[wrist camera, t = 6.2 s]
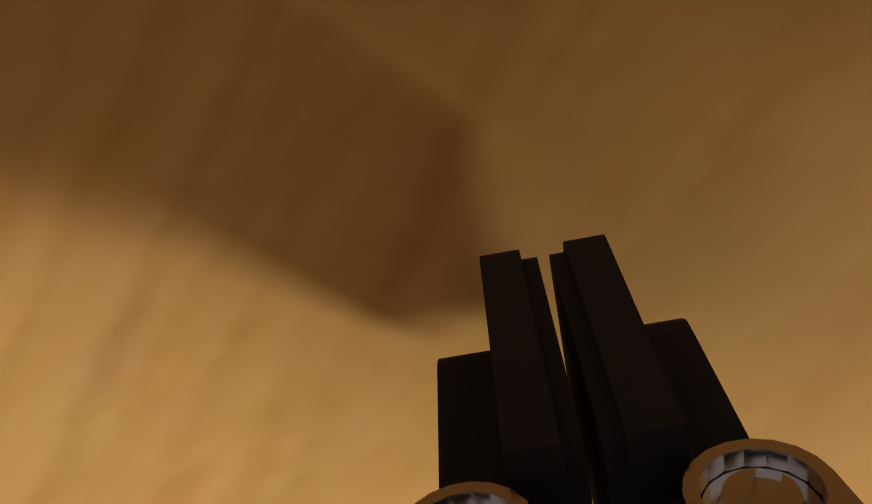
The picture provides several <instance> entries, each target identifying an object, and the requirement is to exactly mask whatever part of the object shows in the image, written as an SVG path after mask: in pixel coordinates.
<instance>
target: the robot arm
mask: <svg viewBox="0 0 872 504" xmlns="http://www.w3.org/2000/svg"><path fill="white" fill-rule="evenodd" d="M563 250H564V252H562V253H557V254H551V255H549V258H550V266H551V273H552V279H553V286H554V292H555V299H556V306H557V312H558V319H559V325H560V332H561V339H562V345H563V352H564V358H565V365H566V370H565V367H564V363H563V359H562V355H561V351H560V347H559V343H558V339H557V335H556V331H555V327H554V323H553V319H552V315H551V311H550V307H549V303H548V299H547V295H546V291H545V287H544V283H543V280H542V276H541V272H540V268H539V264H538V260H537V257H534V258H528V259H523V260H521V256H520V252H519V250H513V251H507V252H502V253H496V254H490V255H485V256H479V257H480V266H481V274H482V283H483V291H484V300H485V308H486V317H487V325H488V334H489V342H490V351H484V352H478V353H472V354H466V355H460V356H454V357H448V358H442V359H439V360H438V364H437V380H438V446H439V490H436V491H433V492H431V493H429V494H428V495H426V496H425V497H423V498H422V499H421V500H419V501H418V502H416V503H415V504H864V503H863V502H862V501H861V500H860V499H859V498H858V497H857V496H856V494H855V493H854V492H853V491H852V490H851V489H850V488H849V487H848V485H847V484H846V483H845V482H844V481H843V480H842V479H841V478H840V476H839V475H838V474H837V473H836V472H835V471H834V470H833V469H832V468H831V467H830V466H828V465H827V464H826V463H825V462H824V461H822V460H821V459H820V458H819V457H818V456H816V455H814V454H812V453H810V452H808V451H806V450H804V449H802V448H800V447H797V446H795V445H791V444H787V443H783V442H779V441H775V440H766V439H749V437H748V435H747V433H746V431H745V429H744V427H743V425H742V423H741V421H740V420H739V418H738V416H737V414H736V412H735V410H734V408H733V406H732V404H731V403H730V401H729V399H728V397H727V395H726V393H725V391H724V389H723V387H722V385H721V384H720V382H719V380H718V378H717V376H716V374H715V372H714V370H713V368H712V367H711V365H710V363H709V361H708V359H707V357H706V355H705V353H704V351H703V349H702V348H701V346H700V344H699V342H698V340H697V338H696V336H695V334H694V332H693V331H692V329H691V327H690V325H689V324H688V322H687V321H686V319H683V318H680V319H675V320H669V321H663V322H657V323H651V324H645V325H644V324H643V322H642V319H641V317H640V315H639V312H638V310H637V308H636V306H635V303H634V301H633V299H632V296H631V294H630V292H629V289H628V287H627V285H626V283H625V280H624V278H623V276H622V273H621V271H620V269H619V266H618V264H617V262H616V260H615V257H614V255H613V253H612V250H611V248H610V246H609V243H608V241H607V239H606V237H605V235H598V236H592V237H587V238H581V239H575V240H570V241H564V242H563ZM566 372H567V374H566ZM592 500H593V503H592Z"/></svg>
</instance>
